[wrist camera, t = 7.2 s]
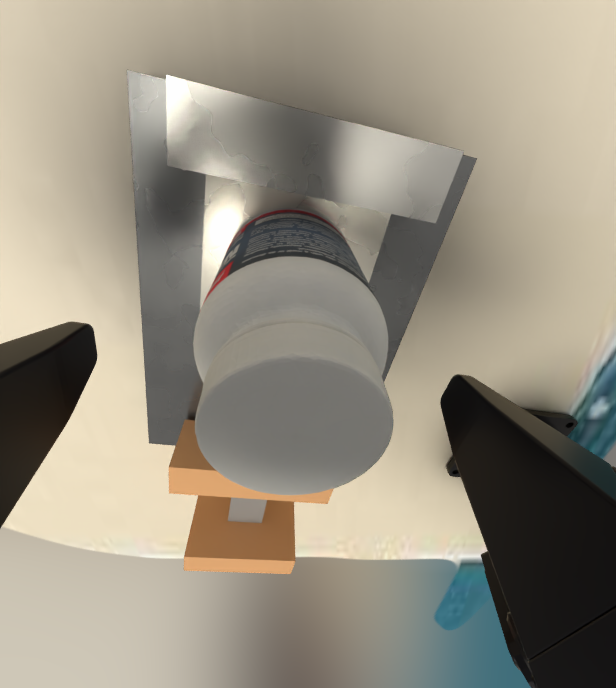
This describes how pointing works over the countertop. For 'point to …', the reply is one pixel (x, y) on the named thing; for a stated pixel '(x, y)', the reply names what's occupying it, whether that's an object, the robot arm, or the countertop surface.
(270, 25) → the countertop surface
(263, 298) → the pill bottle
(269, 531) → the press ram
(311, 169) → the silver frame
